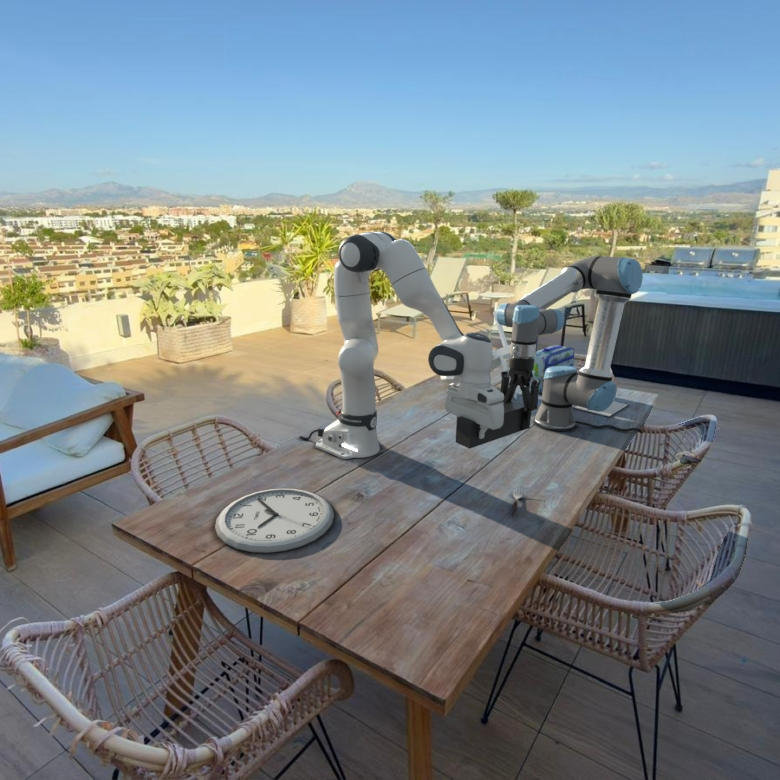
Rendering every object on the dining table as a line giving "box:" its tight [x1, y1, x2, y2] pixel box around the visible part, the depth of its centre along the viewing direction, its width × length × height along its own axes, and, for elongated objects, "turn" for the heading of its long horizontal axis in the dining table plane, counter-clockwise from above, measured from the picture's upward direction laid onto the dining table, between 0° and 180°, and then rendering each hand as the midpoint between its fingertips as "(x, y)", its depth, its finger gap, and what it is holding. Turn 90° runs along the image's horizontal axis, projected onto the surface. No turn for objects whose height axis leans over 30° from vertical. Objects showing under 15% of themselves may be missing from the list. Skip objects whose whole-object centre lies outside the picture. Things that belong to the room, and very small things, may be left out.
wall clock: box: [214, 488, 335, 554], centre depth 135 cm, size 30×2×30 cm
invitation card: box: [573, 400, 629, 418], centre depth 226 cm, size 21×1×15 cm
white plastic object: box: [440, 310, 525, 400], centre depth 245 cm, size 37×45×31 cm
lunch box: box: [530, 345, 575, 394], centre depth 245 cm, size 26×11×21 cm, turn 134°
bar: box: [455, 399, 533, 450], centre depth 161 cm, size 28×6×8 cm, turn 128°
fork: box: [511, 484, 525, 517], centre depth 145 cm, size 3×16×2 cm, turn 160°
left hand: (471, 434), depth 155 cm, fingers closed on bar, 6 cm apart
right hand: (515, 426), depth 168 cm, fingers closed on bar, 6 cm apart
